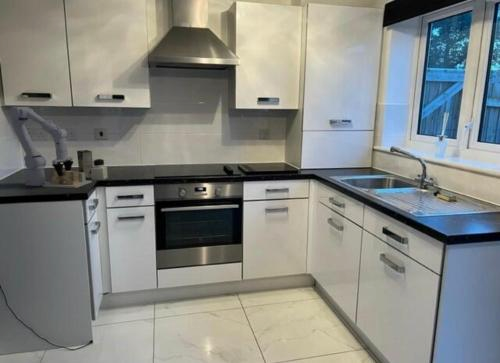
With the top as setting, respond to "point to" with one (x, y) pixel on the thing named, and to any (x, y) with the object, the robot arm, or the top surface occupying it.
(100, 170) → the medicine bottle
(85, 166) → the coffee box
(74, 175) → the ash bar
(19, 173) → the top surface
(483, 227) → the top surface
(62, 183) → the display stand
